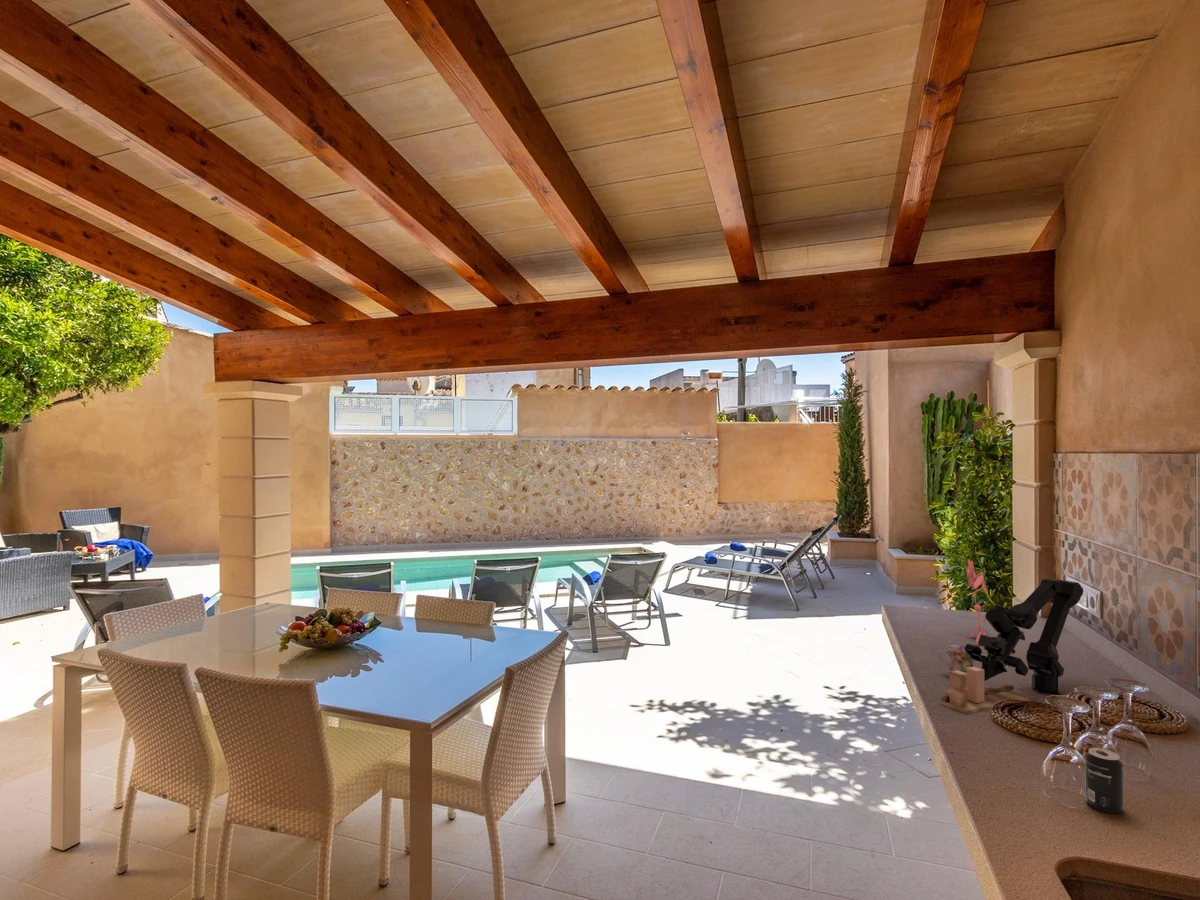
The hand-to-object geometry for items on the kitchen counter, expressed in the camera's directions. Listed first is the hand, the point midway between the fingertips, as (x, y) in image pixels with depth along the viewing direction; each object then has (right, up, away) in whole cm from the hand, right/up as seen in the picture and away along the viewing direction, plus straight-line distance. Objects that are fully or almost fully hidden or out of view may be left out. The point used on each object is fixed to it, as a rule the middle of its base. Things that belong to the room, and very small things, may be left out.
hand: (982, 680), depth 208 cm
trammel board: (+2, -7, +1) cm, 8 cm away
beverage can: (-9, -7, -62) cm, 63 cm away
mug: (+5, -8, +24) cm, 26 cm away
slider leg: (-3, -6, 0) cm, 7 cm away
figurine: (+37, -9, +71) cm, 80 cm away
